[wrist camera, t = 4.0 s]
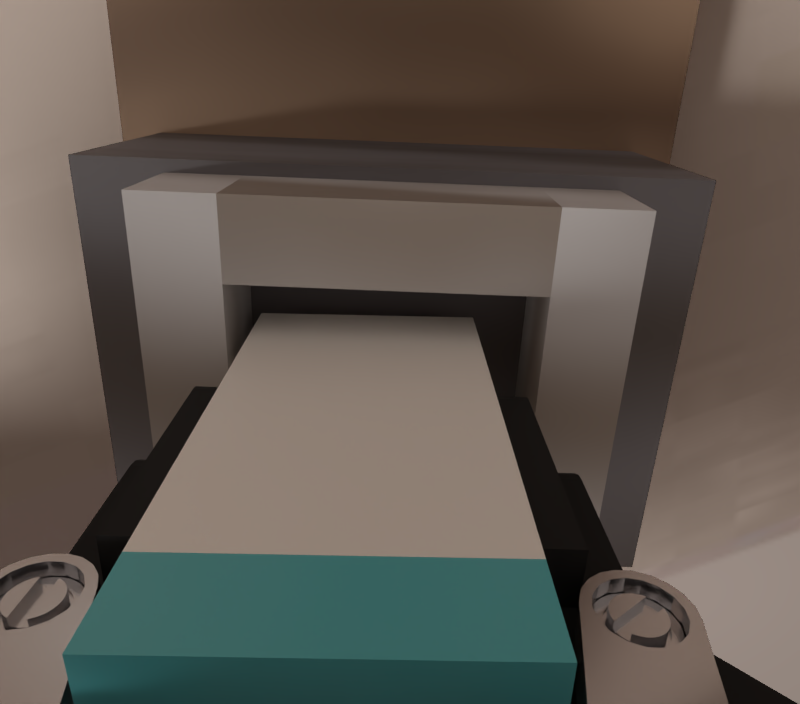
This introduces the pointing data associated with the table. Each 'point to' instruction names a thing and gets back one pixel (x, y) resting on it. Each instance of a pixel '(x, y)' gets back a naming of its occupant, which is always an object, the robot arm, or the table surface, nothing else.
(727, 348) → the table surface
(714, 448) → the table surface
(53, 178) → the table surface
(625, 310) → the socket console
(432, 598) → the plug block
